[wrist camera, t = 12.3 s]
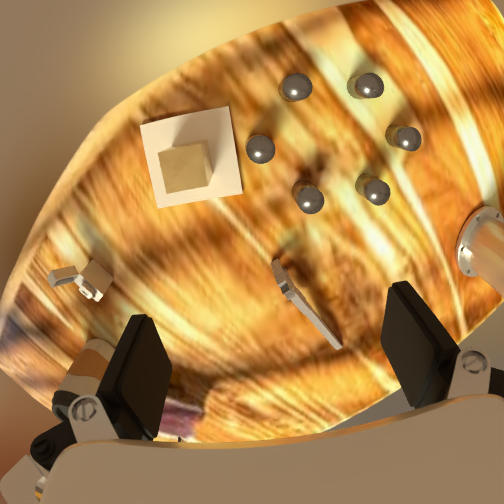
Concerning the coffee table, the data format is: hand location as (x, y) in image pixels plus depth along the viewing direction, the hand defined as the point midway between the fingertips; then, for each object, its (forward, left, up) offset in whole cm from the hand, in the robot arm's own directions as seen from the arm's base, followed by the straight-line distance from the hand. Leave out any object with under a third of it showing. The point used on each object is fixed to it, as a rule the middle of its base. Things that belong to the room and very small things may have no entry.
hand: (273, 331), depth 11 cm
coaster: (+6, -4, -25) cm, 25 cm away
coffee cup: (+29, +23, -25) cm, 44 cm away
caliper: (-6, +19, -25) cm, 32 cm away
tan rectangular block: (+6, -4, -24) cm, 25 cm away
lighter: (+23, +7, -25) cm, 34 cm away
